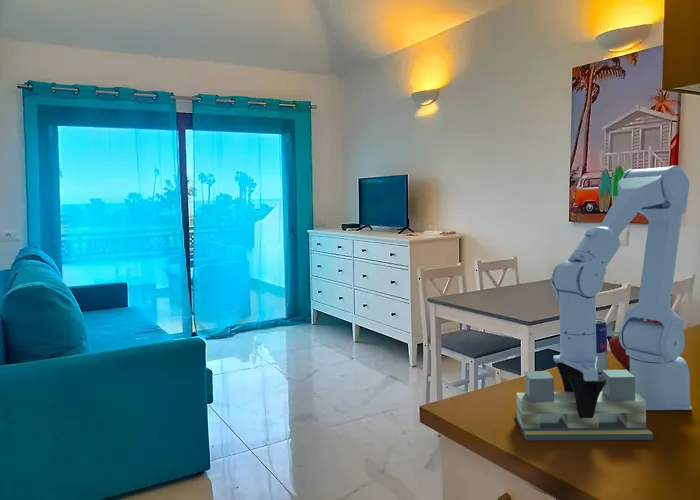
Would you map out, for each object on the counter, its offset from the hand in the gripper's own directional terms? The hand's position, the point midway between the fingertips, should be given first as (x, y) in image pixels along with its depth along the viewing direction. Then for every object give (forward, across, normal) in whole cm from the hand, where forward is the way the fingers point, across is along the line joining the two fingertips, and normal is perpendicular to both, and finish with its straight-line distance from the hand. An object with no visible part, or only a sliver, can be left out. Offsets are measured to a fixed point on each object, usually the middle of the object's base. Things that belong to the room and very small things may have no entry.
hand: (579, 408), depth 97 cm
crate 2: (-2, 0, +6) cm, 7 cm away
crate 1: (-2, 0, -7) cm, 7 cm away
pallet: (+2, 0, 0) cm, 2 cm away
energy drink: (+4, -29, +11) cm, 31 cm away
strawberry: (+4, -32, +19) cm, 37 cm away
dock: (+3, 0, 0) cm, 3 cm away
